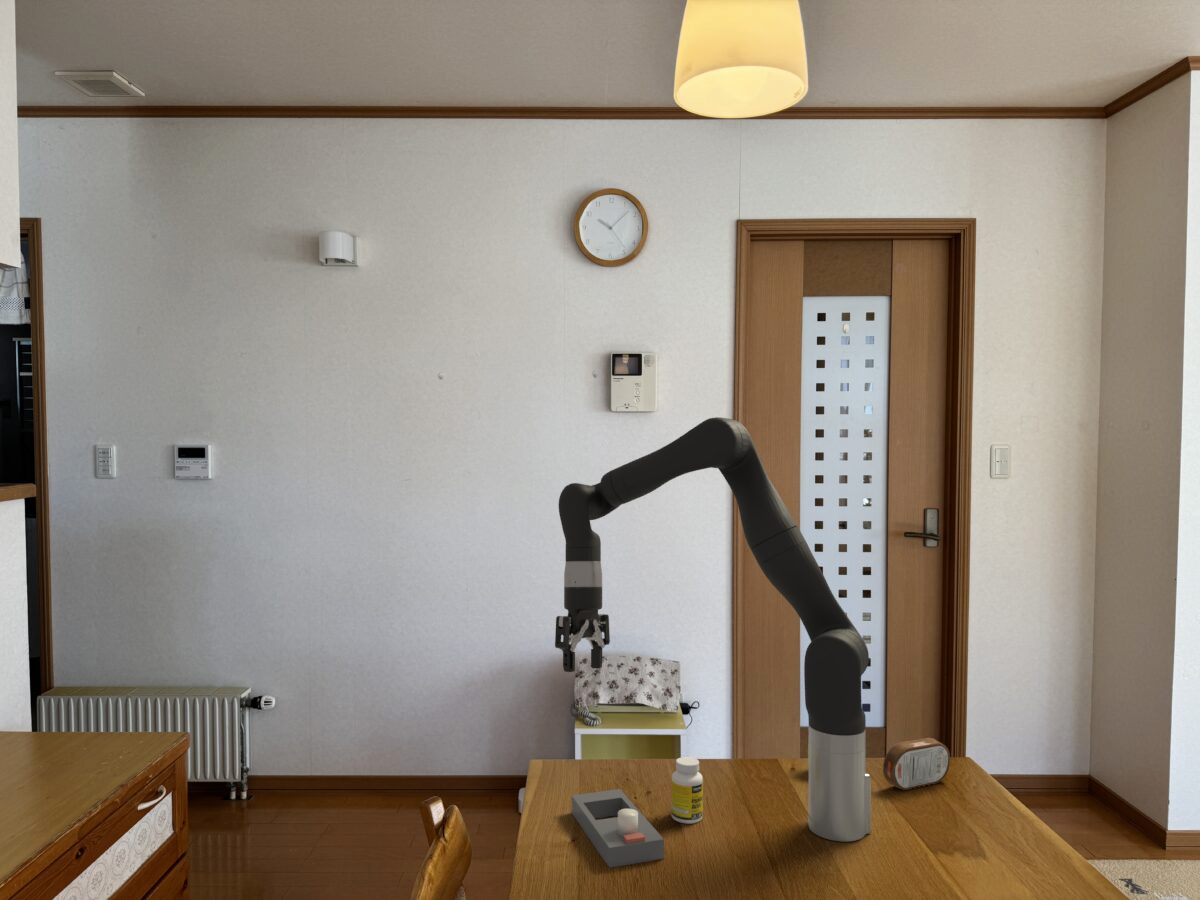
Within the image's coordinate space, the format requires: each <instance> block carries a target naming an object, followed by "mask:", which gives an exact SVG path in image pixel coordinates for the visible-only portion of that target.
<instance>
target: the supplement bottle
mask: <svg viewBox="0 0 1200 900" xmlns="http://www.w3.org/2000/svg"><path fill="white" fill-rule="evenodd" d="M675 761H676V762H675V769H676V771H674V772H672V776H671V801H670V802H671V803H670V804H671V805H670V807H671V809H670V810H671V811H670V812H671V813H670V814H671V818H672V819H673V820H674V821H676V822H678V823H681V824H686V825H687V824H697V823H699V822H700V821H702V819H703V809H704V808H703V807H704V806H703V802H704V796H703V795H704V793H703V792H704V791H703V790H704V777H703V774H701V772H699V771H700V761H699V759H697V758H695V757H691V756H683V757H679V758H676V760H675Z"/></svg>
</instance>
